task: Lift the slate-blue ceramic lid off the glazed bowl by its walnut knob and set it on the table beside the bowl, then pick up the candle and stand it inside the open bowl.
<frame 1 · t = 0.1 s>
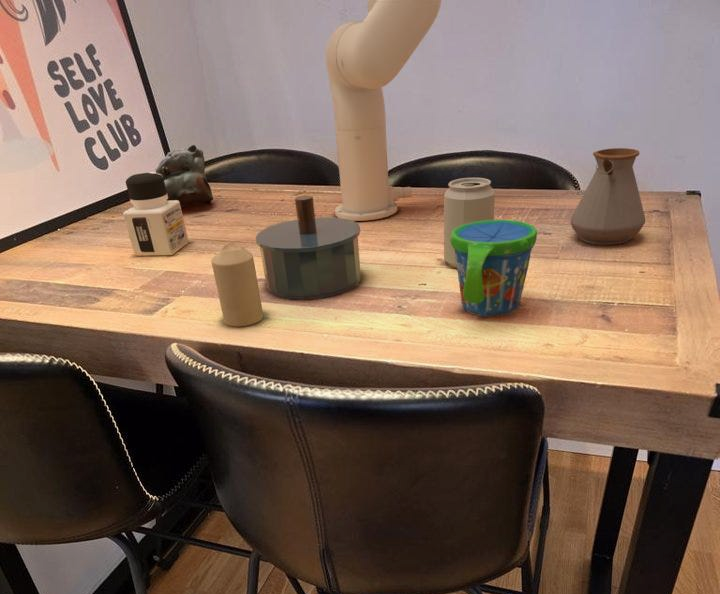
snack cup: (490, 309, 87), on the table
coffee pot: (600, 248, 103), on the table
can: (467, 263, 102), on the table
grey lumpy figure: (183, 208, 147), on the table
bowl: (314, 282, 100), on the table
container: (162, 250, 121), on the table
lid: (308, 235, 96), point 7 cm above the table, touching bowl
candle: (244, 320, 91), on the table
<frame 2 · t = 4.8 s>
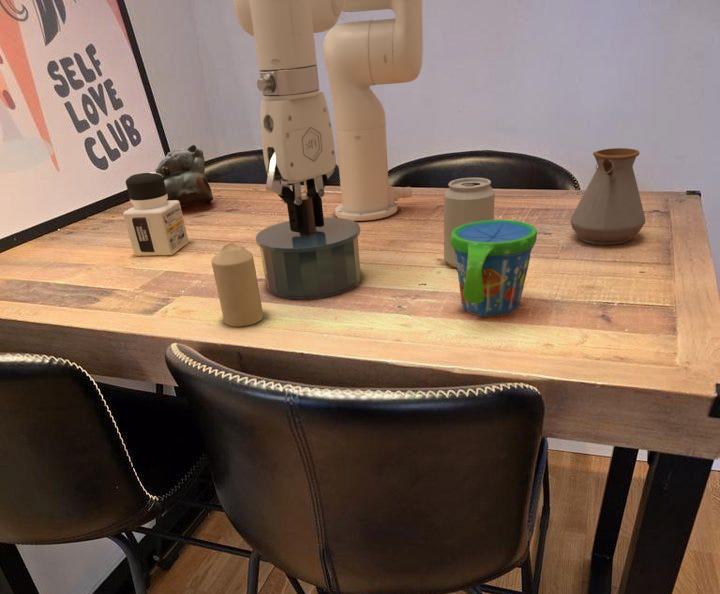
hand: (307, 227, 96), 8 cm above the table, tool pointing down, fingers closed on lid, 2 cm apart
lid: (308, 235, 96), point 7 cm above the table, touching bowl, gripper
everything else where it was.
when the fingers open (2 cm above the table, at t = 12.3 s): lid stays where it is, point 1 cm above the table.
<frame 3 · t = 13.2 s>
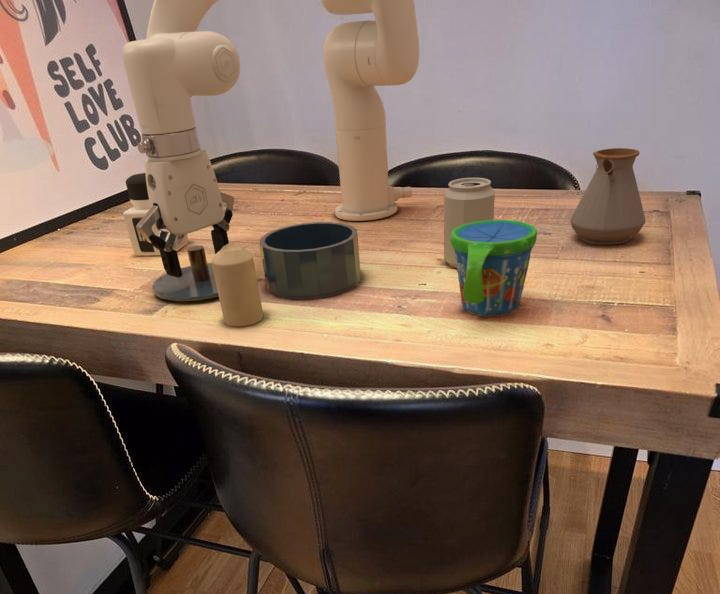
hand: (199, 266, 101), 3 cm above the table, tool pointing down, fingers open, 9 cm apart
lid: (203, 282, 102), point 1 cm above the table
everything else where it was.
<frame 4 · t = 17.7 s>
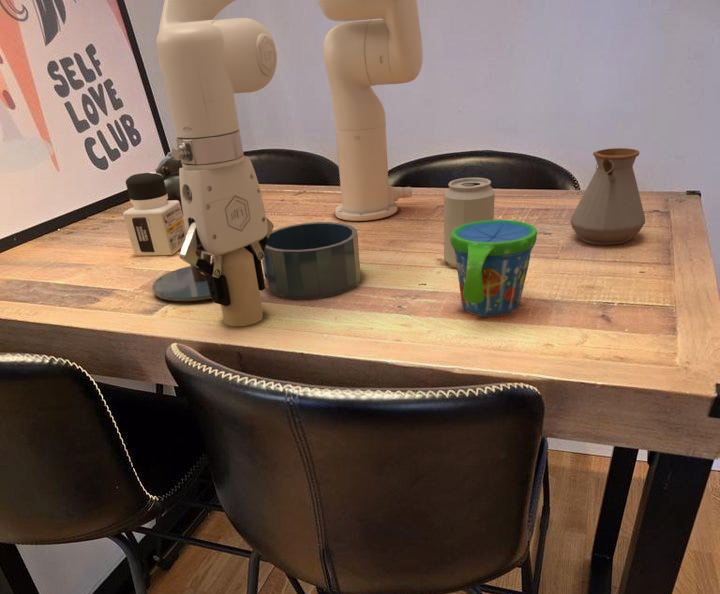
hand: (239, 294, 88), 4 cm above the table, tool pointing down, fingers closed on candle, 5 cm apart
candle: (244, 320, 91), on the table, touching gripper
everything else where it was.
when the fingers open (4 cm above the table, at t = 26.0 s): candle stays where it is, resting on bowl.
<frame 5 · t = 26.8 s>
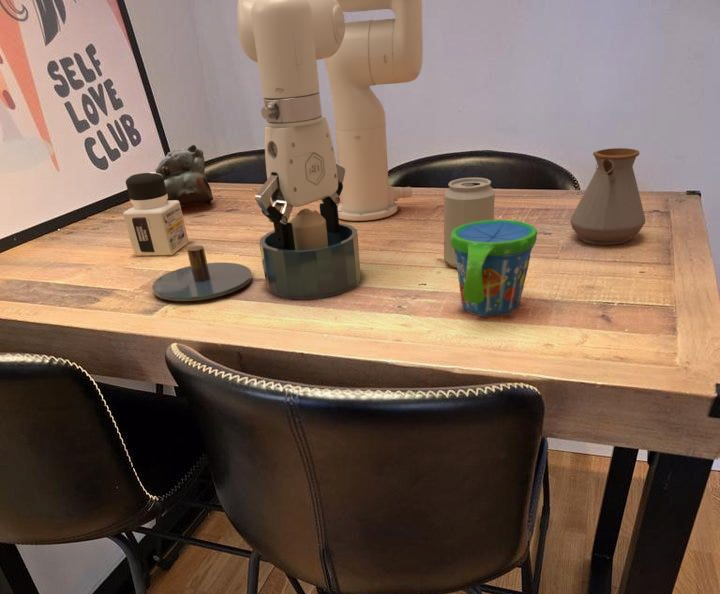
hand: (309, 240, 97), 6 cm above the table, tool pointing down, fingers open, 9 cm apart
candle: (313, 280, 100), resting on bowl
everything else where it was.
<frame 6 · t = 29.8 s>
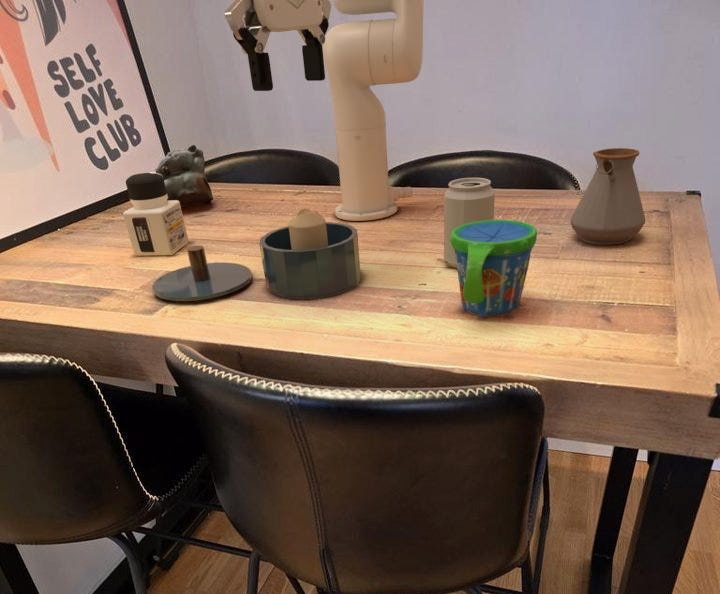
hand: (290, 85, 85), 26 cm above the table, tool pointing down, fingers open, 9 cm apart
nothing on the table moved.
at the end: lid inside the target area on the table beside the bowl (0.1 cm from its centre), point 0.6 cm above the table; candle inside the target area in the bowl (0.0 cm from its centre), point 0.3 cm above the bowl's base; candle tilted 0° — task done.
